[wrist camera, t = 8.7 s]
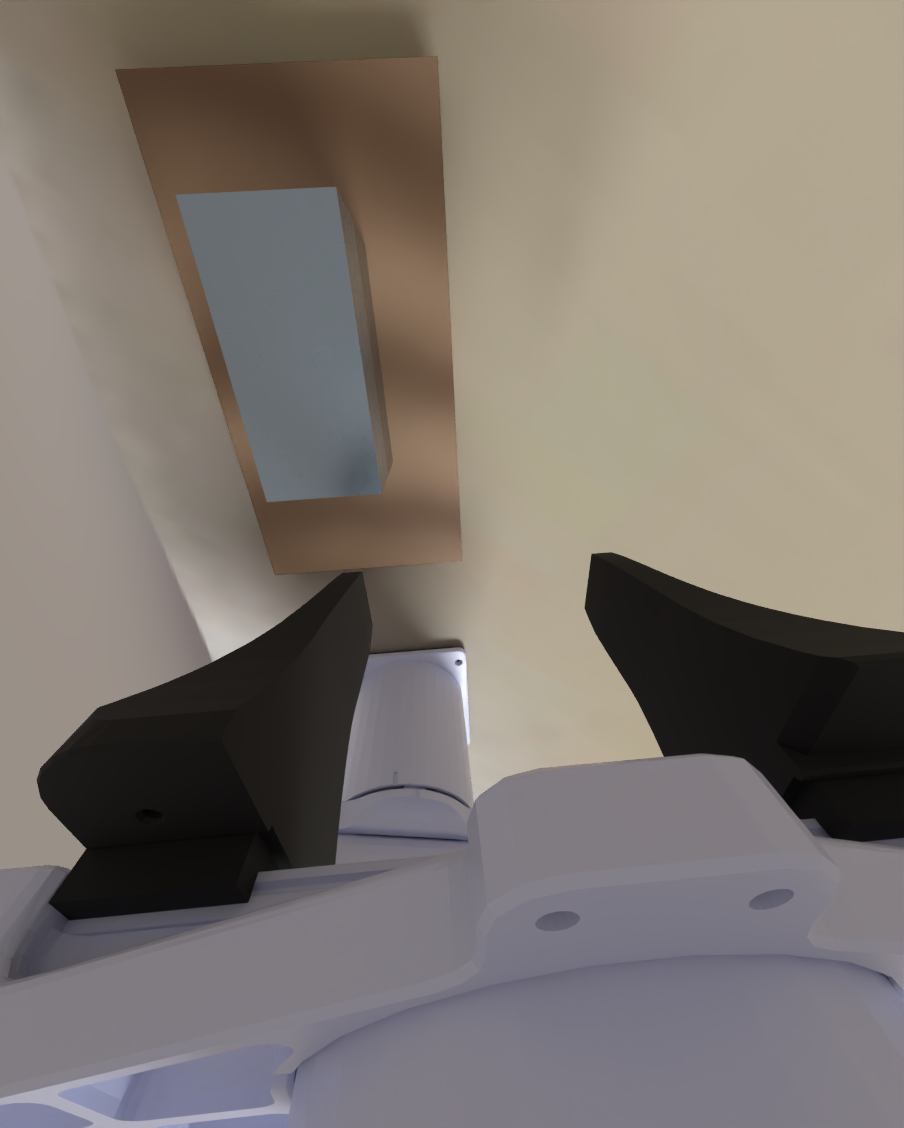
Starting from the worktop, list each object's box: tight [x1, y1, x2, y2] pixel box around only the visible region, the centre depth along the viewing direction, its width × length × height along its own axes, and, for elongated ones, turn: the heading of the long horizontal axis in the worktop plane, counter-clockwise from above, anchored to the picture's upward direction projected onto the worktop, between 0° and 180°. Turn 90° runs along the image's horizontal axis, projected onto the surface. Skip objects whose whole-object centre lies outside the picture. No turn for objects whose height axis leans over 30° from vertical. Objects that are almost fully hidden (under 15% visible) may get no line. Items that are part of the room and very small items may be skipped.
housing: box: [176, 187, 393, 502], centre depth 14 cm, size 4×8×5 cm, turn 3°
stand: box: [115, 56, 462, 575], centre depth 17 cm, size 18×10×2 cm, turn 3°
